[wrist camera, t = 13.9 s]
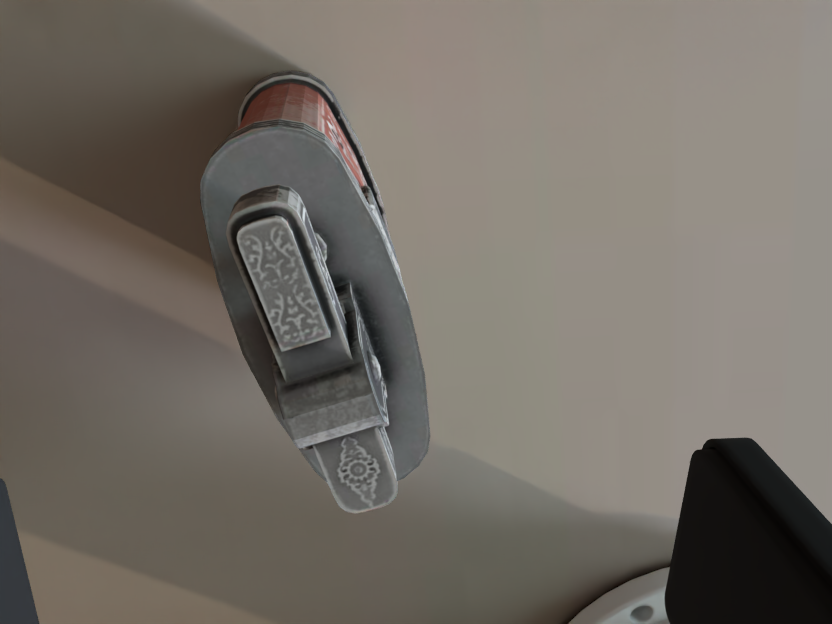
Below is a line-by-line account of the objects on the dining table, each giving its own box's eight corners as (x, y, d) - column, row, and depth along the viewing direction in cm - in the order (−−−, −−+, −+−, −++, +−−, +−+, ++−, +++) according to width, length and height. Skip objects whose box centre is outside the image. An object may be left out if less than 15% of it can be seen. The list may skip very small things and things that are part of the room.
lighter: (418, 318, 23) (481, 546, 14) (313, 349, 23) (308, 597, 14) (336, 53, 20) (351, 130, 11) (213, 92, 20) (121, 201, 11)
